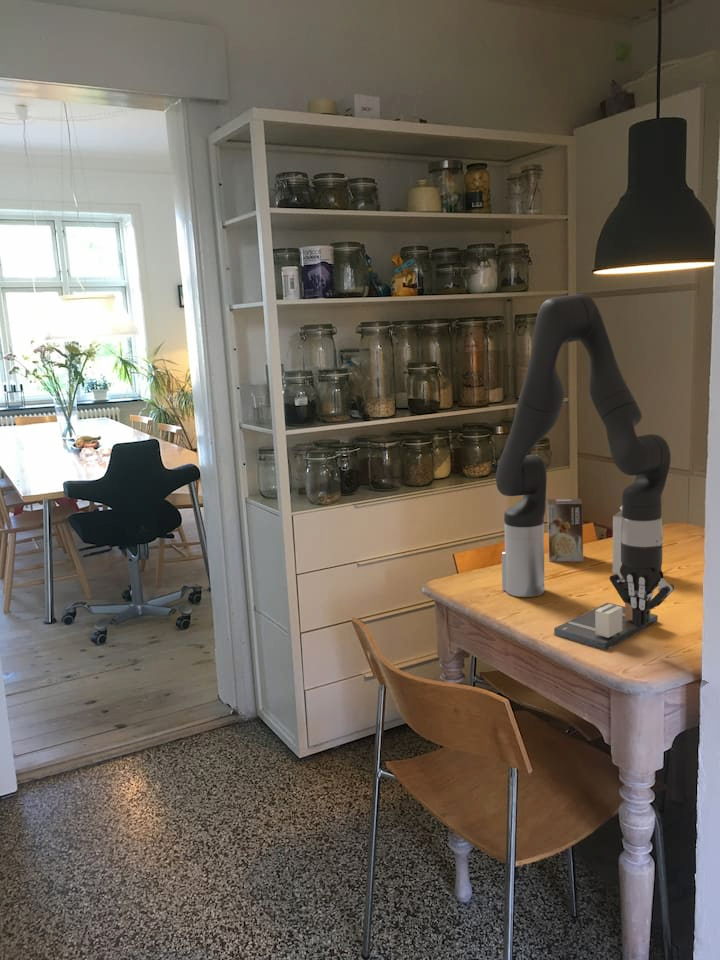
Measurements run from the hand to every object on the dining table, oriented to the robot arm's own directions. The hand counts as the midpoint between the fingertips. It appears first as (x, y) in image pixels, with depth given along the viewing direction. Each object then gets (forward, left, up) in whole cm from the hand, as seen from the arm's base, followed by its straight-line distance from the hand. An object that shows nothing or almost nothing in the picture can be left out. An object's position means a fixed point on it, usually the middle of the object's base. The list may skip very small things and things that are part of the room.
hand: (640, 625), depth 155 cm
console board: (-11, +6, -5) cm, 14 cm away
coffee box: (-46, +41, -6) cm, 62 cm away
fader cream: (-7, 0, -3) cm, 8 cm away
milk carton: (-26, +41, -6) cm, 49 cm away
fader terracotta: (-7, +11, -3) cm, 14 cm away
